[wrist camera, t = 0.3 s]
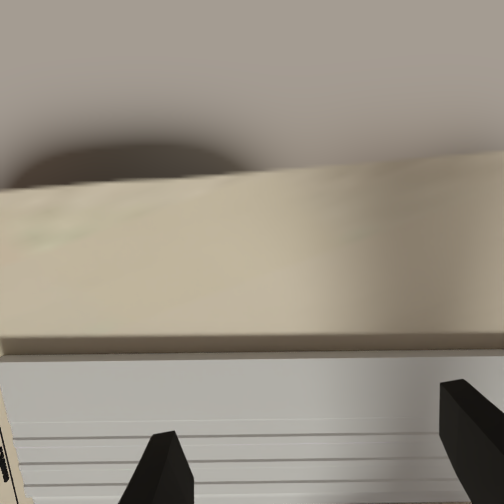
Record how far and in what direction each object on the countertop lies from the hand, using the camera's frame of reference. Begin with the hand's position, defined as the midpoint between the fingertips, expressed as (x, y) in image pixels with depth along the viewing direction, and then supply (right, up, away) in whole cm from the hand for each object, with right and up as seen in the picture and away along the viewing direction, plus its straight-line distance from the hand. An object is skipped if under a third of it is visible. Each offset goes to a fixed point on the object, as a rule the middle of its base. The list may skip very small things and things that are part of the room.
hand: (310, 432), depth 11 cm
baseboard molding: (+1, -6, +14) cm, 15 cm away
